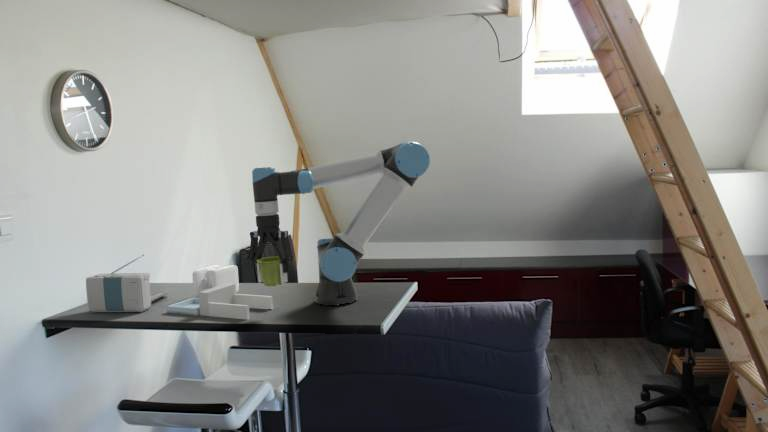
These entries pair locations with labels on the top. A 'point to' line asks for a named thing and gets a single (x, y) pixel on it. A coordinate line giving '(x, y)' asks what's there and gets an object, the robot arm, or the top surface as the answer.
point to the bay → (231, 302)
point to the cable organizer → (214, 278)
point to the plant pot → (270, 270)
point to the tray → (185, 307)
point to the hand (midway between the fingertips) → (272, 281)
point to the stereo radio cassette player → (118, 292)
